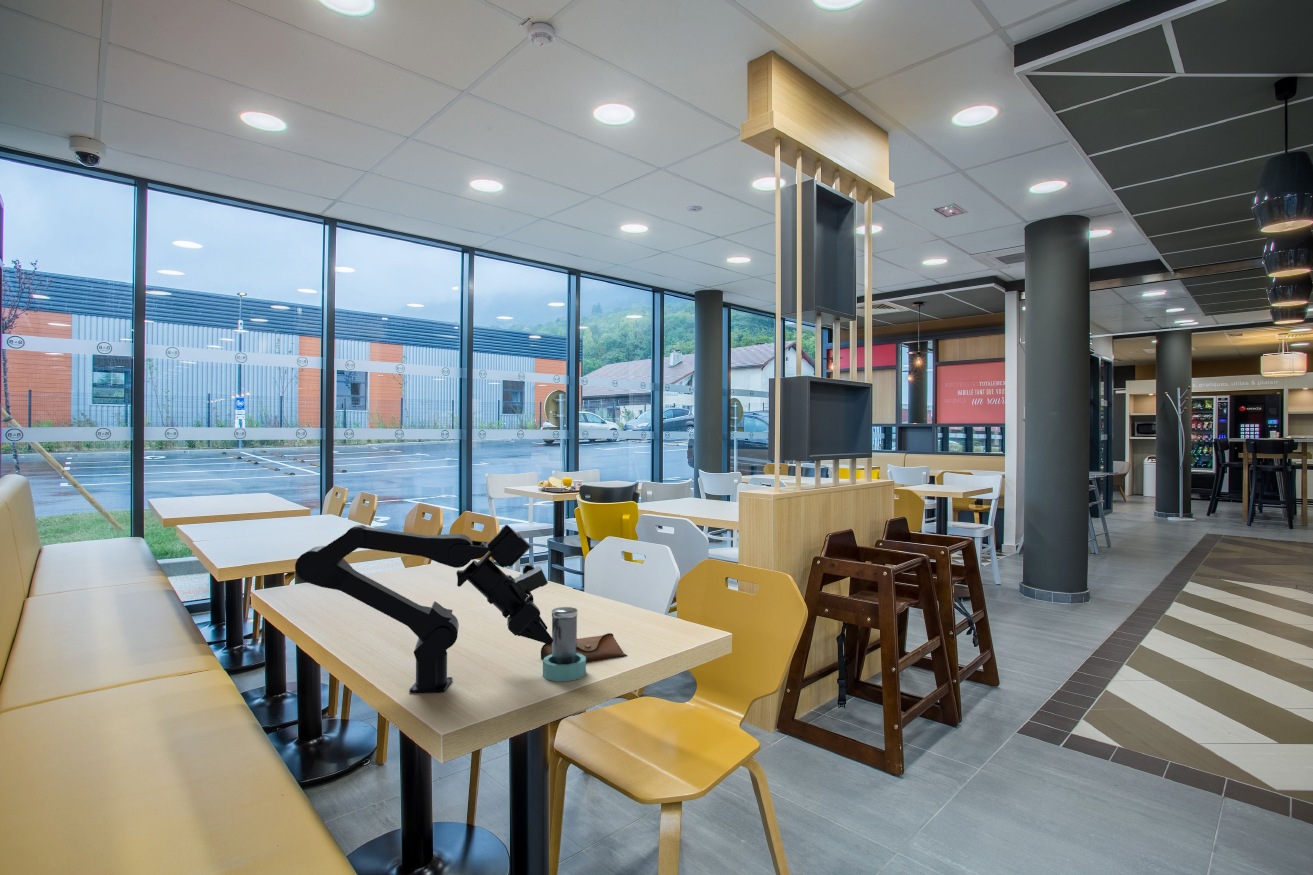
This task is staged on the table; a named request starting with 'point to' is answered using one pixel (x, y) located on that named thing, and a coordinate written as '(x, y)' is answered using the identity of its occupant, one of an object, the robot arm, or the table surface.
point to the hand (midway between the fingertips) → (548, 635)
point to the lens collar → (564, 669)
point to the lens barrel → (564, 635)
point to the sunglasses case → (592, 648)
